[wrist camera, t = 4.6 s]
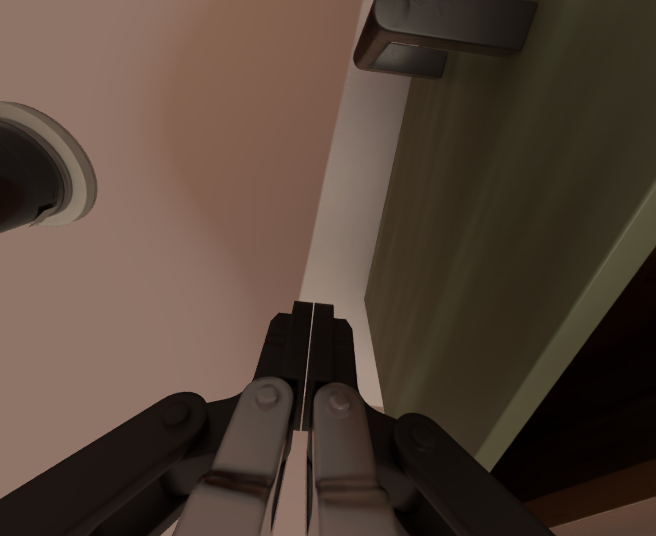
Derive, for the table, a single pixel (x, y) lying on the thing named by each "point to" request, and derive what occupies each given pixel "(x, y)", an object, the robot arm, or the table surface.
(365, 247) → the table surface
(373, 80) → the table surface
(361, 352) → the table surface
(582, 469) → the cupboard
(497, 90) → the door
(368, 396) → the table surface
